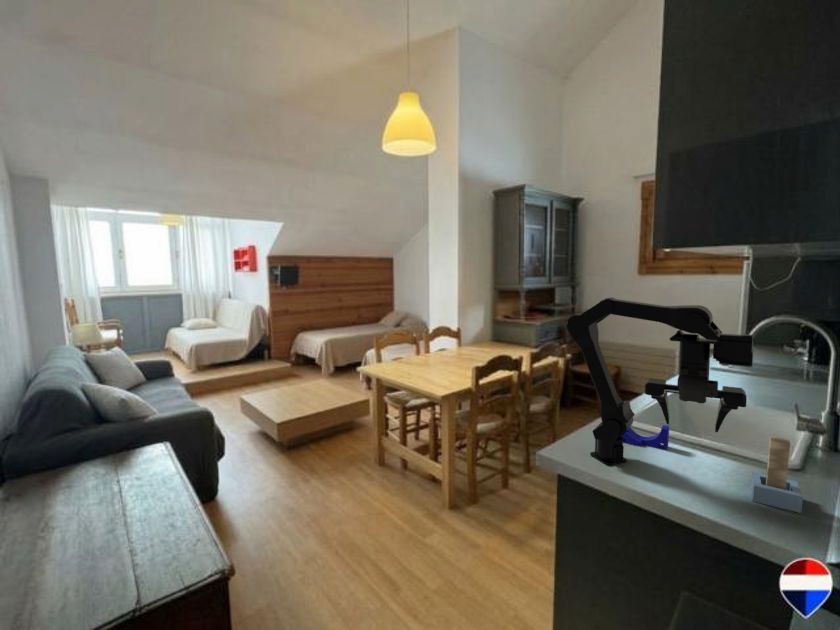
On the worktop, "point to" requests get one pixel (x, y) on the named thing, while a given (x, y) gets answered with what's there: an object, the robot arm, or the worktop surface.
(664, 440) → the cable clip
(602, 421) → the robot arm
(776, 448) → the slat
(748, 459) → the worktop surface
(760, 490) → the blue-grey socket block
